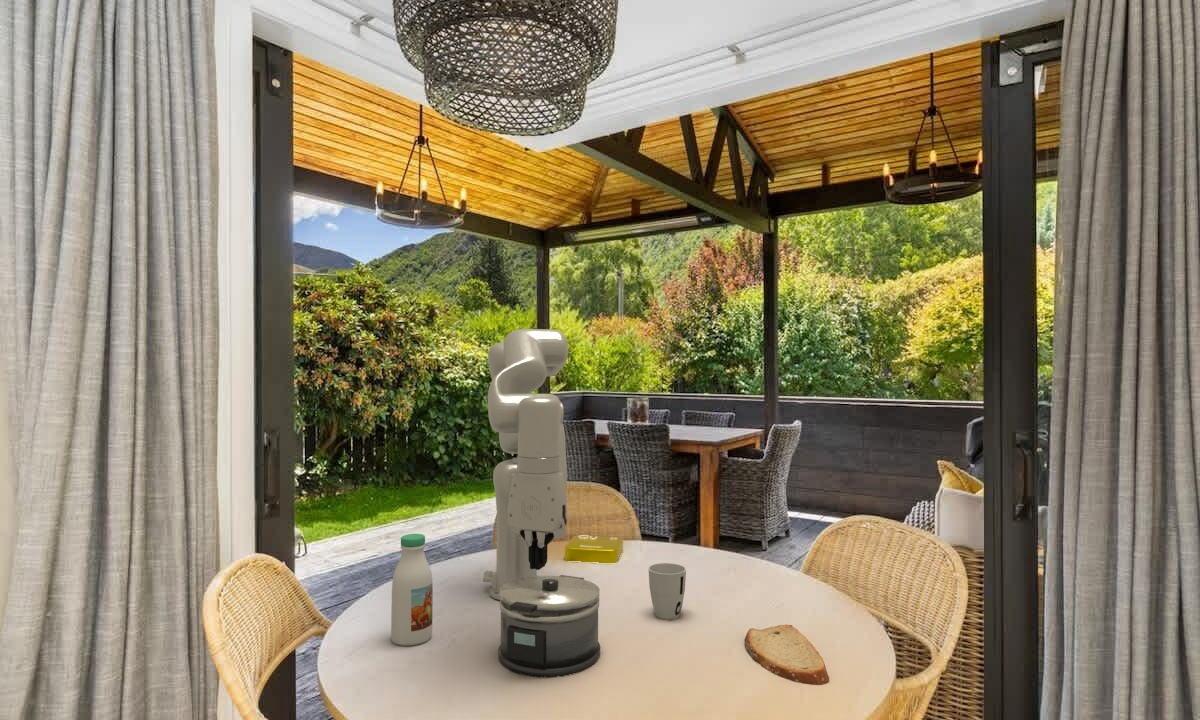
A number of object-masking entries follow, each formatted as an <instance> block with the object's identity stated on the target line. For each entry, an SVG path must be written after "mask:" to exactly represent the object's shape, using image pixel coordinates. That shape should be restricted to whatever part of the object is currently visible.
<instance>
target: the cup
mask: <svg viewBox="0 0 1200 720" xmlns="http://www.w3.org/2000/svg"><path fill="white" fill-rule="evenodd" d="M686 576H687V568H686V567H685V566H684V565H681V564H678V563H672V562H661V563H654V564H651V565H649V566H648V583H649V585H648V586H649V591H650V598H651V605H652V607H653V610H654V614H655V616H656V617H657V618H659V619H661V620H662V619H663V620H675V619H678V618H679V617H680V615H681V611H682V608H683V603H684V597H685V592H686V590H685V589H686V578H687V577H686Z"/></svg>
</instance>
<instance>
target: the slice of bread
mask: <svg viewBox="0 0 1200 720" xmlns="http://www.w3.org/2000/svg"><path fill="white" fill-rule="evenodd" d="M743 641H744V647H745V649H746V652H747V653H748V655H749V657H750V658H751V659H752V661H754V662H756V663H758V664H759V666H760V667H762V668H763V669H765V670H766V671H768V672H769V673H772V674H774V675H776V676H778V677H780V678H783V679H786V680H788V681H791V682H794V683H800V684H804V685H811V686H823V685H827V684H829V683H830V677H829V676H830V675H829V674H828V671H827V667H826V663H825V662H824V659H823V658H822V656H821V655H820V653H819V652H818V650H817V649H816V647H815V646H813V644H812V643H811V641H809V639H808V638H807V637H806V636H805V635H804V634H803V633H802V632H800V631H799V630H798V628H796V627H794V626H793V625H792V624H780V625H779V624H778V625H776V626H770V627H766V628H764V629H756V628H753V627H752V628H751V627H750V628H749V629H748V631H747V632H746V635H745V636H744V639H743Z"/></svg>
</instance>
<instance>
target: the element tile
mask: <svg viewBox="0 0 1200 720" xmlns="http://www.w3.org/2000/svg"><path fill="white" fill-rule="evenodd" d="M622 551H623V552H624V539H623V538H622V537H620V536H605V535H602V536H601V535H588V534H577V535H574V536H573V537H572V538H571V539H570V540H569V541H568V542H567V544H566V545H565V546H564V561H565V560H566V561H565V562H567V561H581V562H599V563H616V562H617V561H618V562H619V560H620V558H621V556H622V554H623V552H622ZM621 553H622V554H621ZM620 555H621V556H620ZM619 557H620V558H619ZM618 559H619V560H618ZM618 562H617V563H618ZM617 563H616V564H617Z"/></svg>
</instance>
